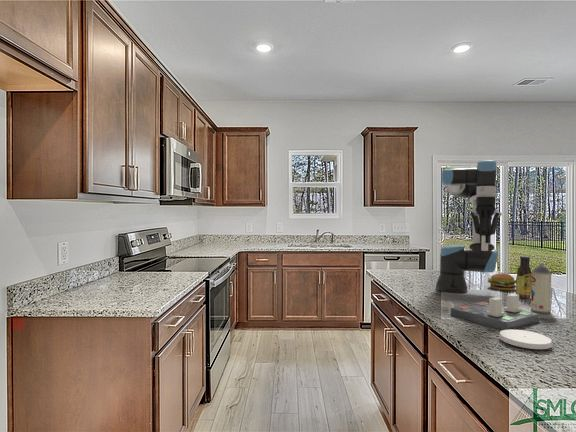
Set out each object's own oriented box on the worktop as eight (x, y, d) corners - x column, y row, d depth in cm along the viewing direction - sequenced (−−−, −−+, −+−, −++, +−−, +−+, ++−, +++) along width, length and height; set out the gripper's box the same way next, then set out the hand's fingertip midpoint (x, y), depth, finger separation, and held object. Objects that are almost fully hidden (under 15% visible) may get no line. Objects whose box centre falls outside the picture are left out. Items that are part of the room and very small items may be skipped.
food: (481, 287, 210) (481, 272, 210) (498, 285, 216) (499, 271, 216) (505, 292, 197) (505, 276, 197) (522, 290, 203) (523, 275, 203)
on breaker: (503, 310, 149) (504, 294, 149) (510, 308, 151) (511, 293, 151) (514, 312, 145) (514, 296, 145) (521, 310, 148) (521, 295, 148)
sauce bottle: (526, 299, 182) (527, 257, 181) (513, 296, 187) (514, 256, 187) (534, 298, 185) (535, 257, 184) (521, 295, 190) (522, 255, 190)
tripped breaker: (486, 314, 142) (486, 298, 142) (493, 312, 145) (494, 296, 145) (497, 316, 139) (497, 300, 139) (504, 315, 142) (505, 298, 142)
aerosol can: (530, 308, 165) (531, 262, 165) (549, 310, 161) (550, 263, 161) (531, 312, 159) (532, 263, 159) (551, 314, 156) (552, 265, 155)
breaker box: (450, 315, 152) (450, 307, 152) (482, 308, 164) (482, 300, 164) (507, 330, 133) (507, 321, 133) (538, 321, 145) (538, 313, 145)
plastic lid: (503, 334, 131) (503, 326, 131) (553, 343, 122) (553, 335, 122) (495, 345, 120) (495, 337, 120) (549, 356, 111) (549, 347, 111)
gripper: (466, 196, 170) (465, 249, 171) (496, 195, 159) (494, 252, 160) (476, 196, 174) (475, 248, 175) (505, 196, 163) (504, 251, 164)
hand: (484, 250), depth 167 cm, fingers closed
